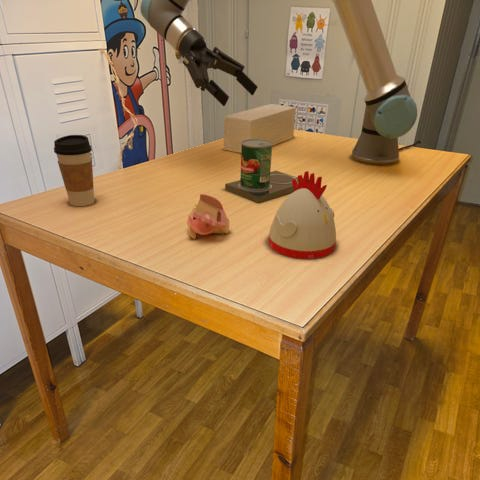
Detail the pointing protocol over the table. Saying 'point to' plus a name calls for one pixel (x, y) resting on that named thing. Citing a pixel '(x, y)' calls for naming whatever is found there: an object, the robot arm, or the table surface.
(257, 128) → the beige rectangular block
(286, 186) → the hob
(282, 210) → the kitchen timer
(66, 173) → the coffee cup
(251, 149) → the canned tomato
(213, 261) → the table surface
